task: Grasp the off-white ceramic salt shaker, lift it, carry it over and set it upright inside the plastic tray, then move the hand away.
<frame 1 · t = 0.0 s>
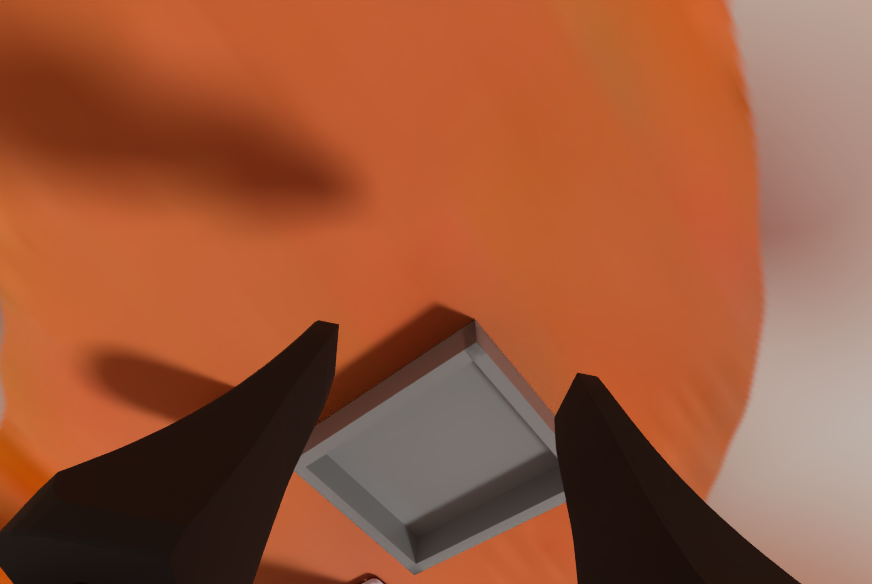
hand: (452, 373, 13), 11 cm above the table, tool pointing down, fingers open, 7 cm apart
tray: (442, 444, 27), on the table
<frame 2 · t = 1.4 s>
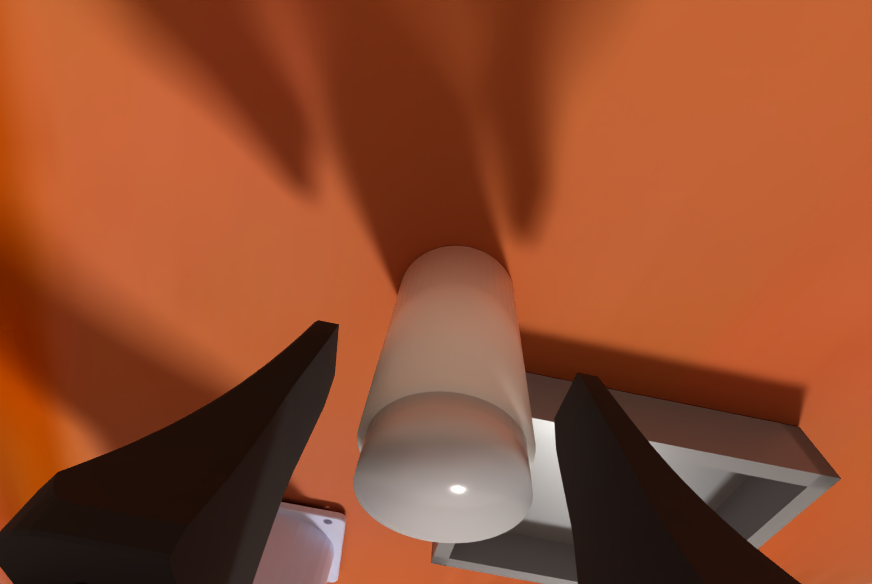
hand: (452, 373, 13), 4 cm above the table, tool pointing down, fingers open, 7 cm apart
tray: (591, 478, 21), on the table
shaker: (456, 297, 16), on the table
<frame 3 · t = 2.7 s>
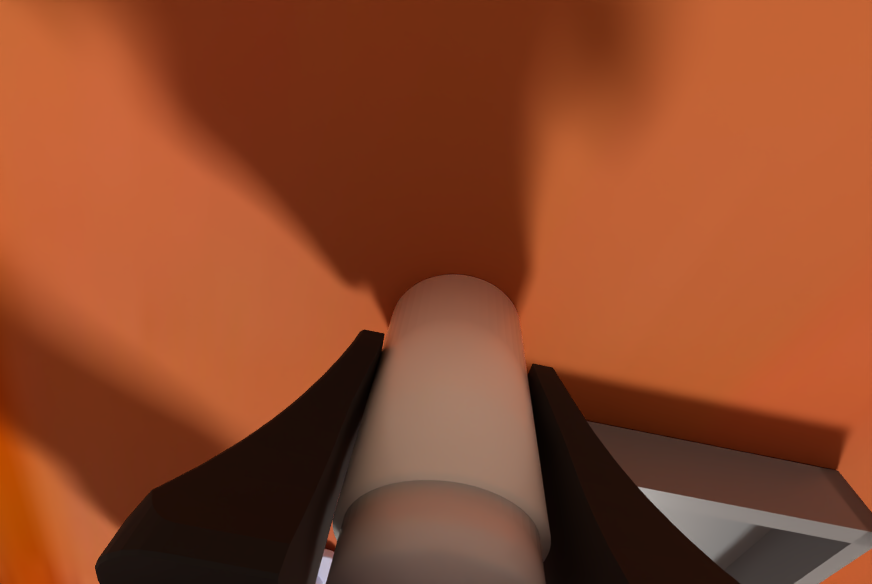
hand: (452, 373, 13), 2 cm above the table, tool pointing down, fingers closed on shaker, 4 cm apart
tray: (604, 519, 20), on the table
shaker: (455, 330, 14), on the table, touching gripper
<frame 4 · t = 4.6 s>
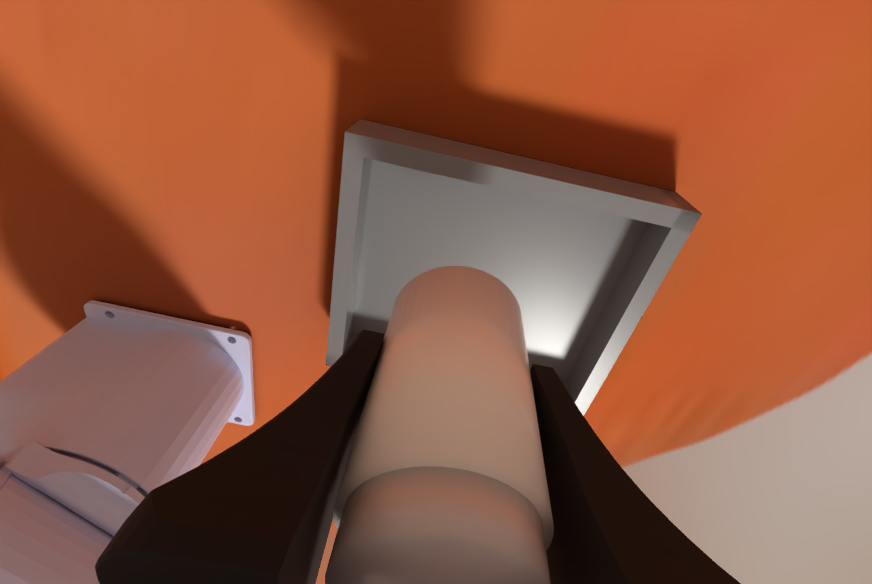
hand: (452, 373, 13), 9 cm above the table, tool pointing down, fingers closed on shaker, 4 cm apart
tray: (484, 273, 21), on the table
shaker: (456, 322, 14), point 7 cm above the table, touching gripper
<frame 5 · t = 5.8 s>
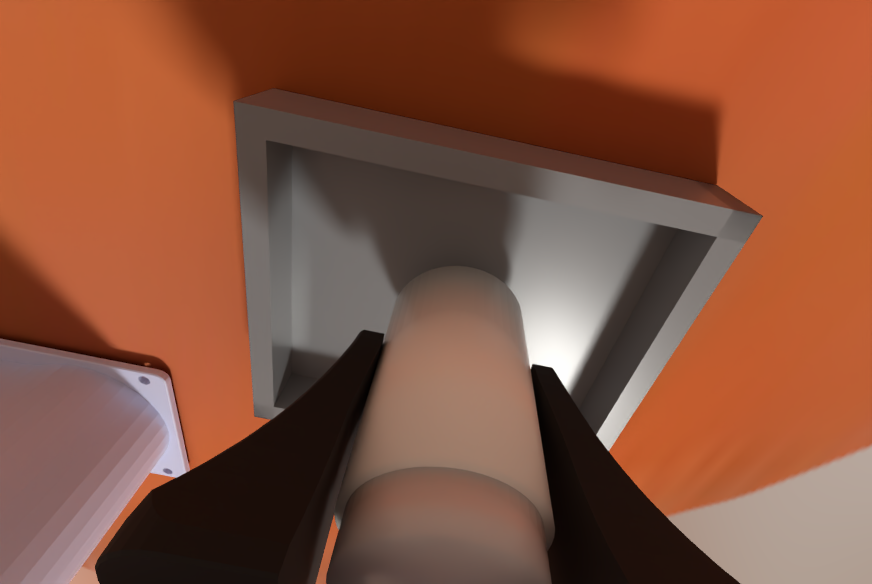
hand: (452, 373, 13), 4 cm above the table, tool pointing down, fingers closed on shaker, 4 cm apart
tray: (457, 296, 16), on the table
shaker: (456, 322, 14), point 2 cm above the table, touching gripper
when the fingers open (4 cm above the table, at t = 6.6 s): shaker drops 1 cm, resting on tray.
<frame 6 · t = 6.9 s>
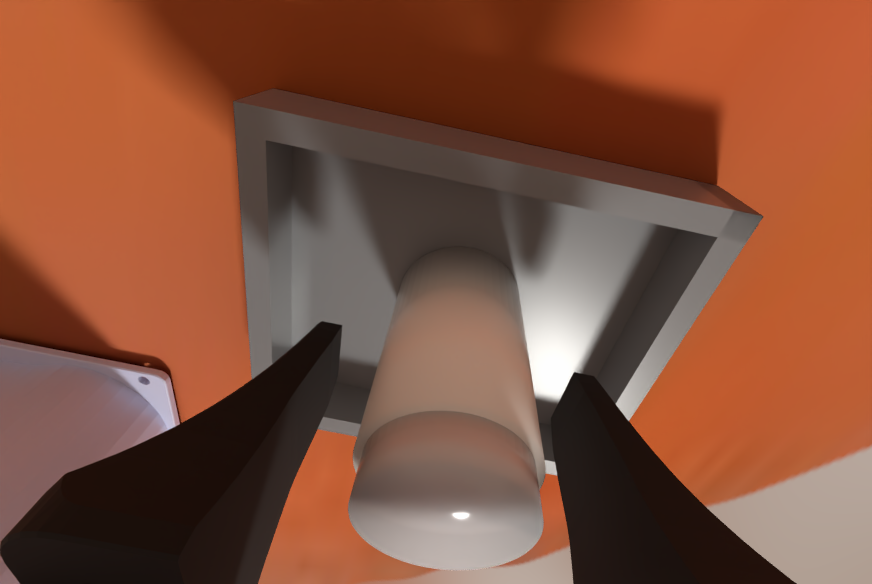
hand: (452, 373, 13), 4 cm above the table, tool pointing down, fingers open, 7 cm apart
tray: (457, 297, 16), on the table
shaker: (458, 300, 16), point 1 cm above the table, touching tray
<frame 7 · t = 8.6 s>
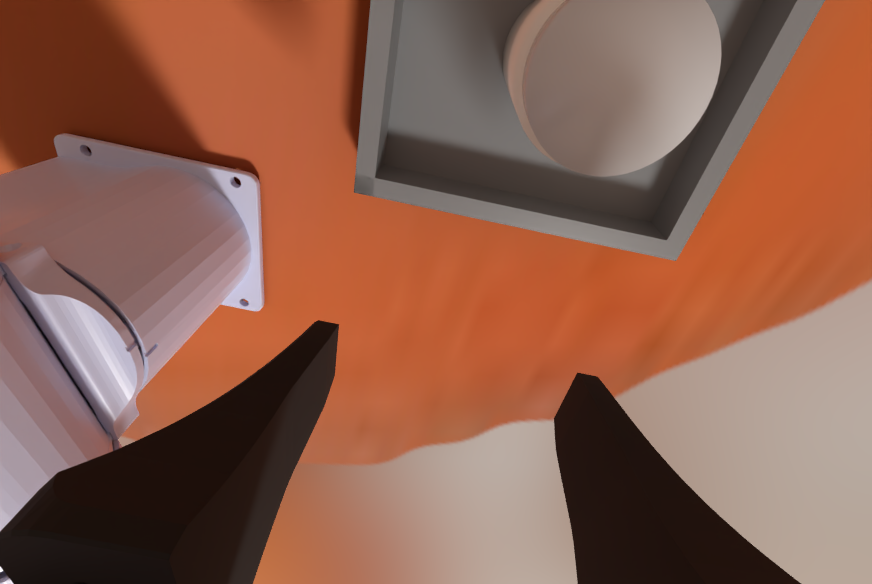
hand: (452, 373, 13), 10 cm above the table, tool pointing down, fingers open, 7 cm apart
tray: (555, 64, 17), on the table
shaker: (561, 58, 16), point 1 cm above the table, touching tray
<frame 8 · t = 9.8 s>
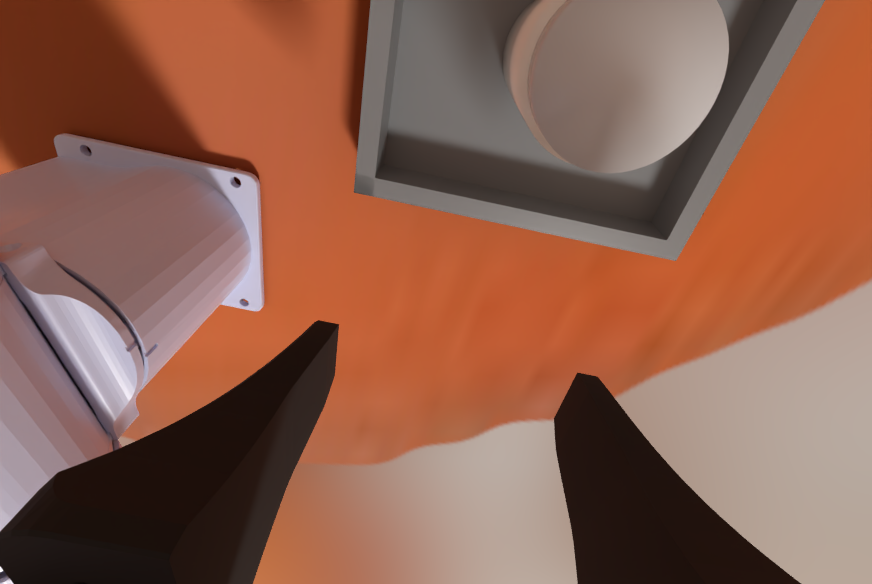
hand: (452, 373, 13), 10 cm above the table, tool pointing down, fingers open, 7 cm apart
tray: (555, 64, 17), on the table
shaker: (561, 58, 16), point 1 cm above the table, touching tray
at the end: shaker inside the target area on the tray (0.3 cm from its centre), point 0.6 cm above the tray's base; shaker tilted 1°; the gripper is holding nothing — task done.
